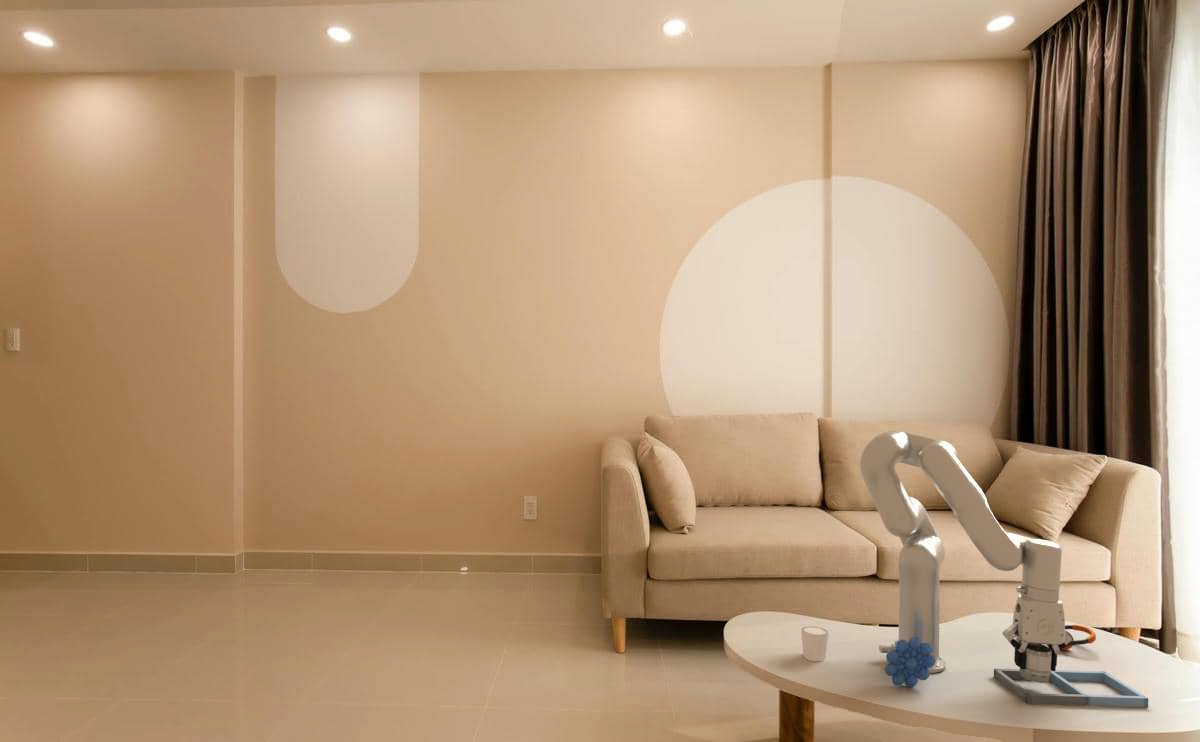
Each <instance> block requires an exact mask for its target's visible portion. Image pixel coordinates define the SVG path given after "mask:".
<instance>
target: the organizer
mask: <svg viewBox="0 0 1200 742" xmlns="http://www.w3.org/2000/svg"><path fill="white" fill-rule="evenodd" d="M1050 671H1051V670H1050ZM993 677H994V678H995V679H996V680H997V681H998V682H1000V683H1001V684H1002V685H1003V686H1004V687H1006V688H1008V690H1009V691H1011V692H1012V693H1014V694H1015V696H1017V697H1018V698H1019V699H1020V700H1022V701H1023V702H1025V704H1027V705H1052V706H1054V705H1056V706H1057V705H1058V706H1063V705H1064V706H1086V705H1088V706H1089V705H1093V706H1092V707H1094V706H1096V707H1097V706H1098V707H1122V708H1123V707H1124V708H1125V707H1129V708H1131V707H1132V708H1135V707H1136V708H1137V707H1138V708H1149V697H1147V696H1146V695H1144V694H1142V693H1140V692H1139V691H1137V690H1136V689H1134V688H1133V687H1131V686H1129V685H1127V684H1126V683H1124V682H1123V681H1121V680H1120V679H1118V678H1116V677H1114V676H1113V675H1111V674H1110V673H1108V672H1107V671H1104V670H1103V671H1097V670H1094V671H1093V670H1059V669H1058V670H1057V669H1056V670H1055V671H1051V674H1050V678H1049V680H1048V681H1051V682H1052V683H1054V685H1056V686H1058V687H1059V688H1060V689H1061V690H1063V691H1064V692H1066V693H1042V692H1040V693H1038V692H1037V693H1036V692H1029V691H1027V690H1026V689H1025V688H1024V687H1022V686H1021V685H1019V684H1018V683H1017V682H1016V681H1014V680H1026V679H1025V678H1024V677H1022V676H1021V672H1020V668H1019V669H1018V668H993ZM1069 681H1073V682H1074V681H1077V682H1103V683H1106V684H1107V685H1108V684H1109V686H1110V687H1112V688H1113V689H1114V690H1116V691H1118V692H1120V693H1121V694H1122V695H1108V694H1106V695H1105V694H1087V693H1085V692H1084V691H1082V690H1081V689H1080V688H1078V687H1077V686H1075V685H1074V684H1072V683H1071V682H1069Z"/></svg>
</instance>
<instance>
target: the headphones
mask: <svg viewBox="0 0 1200 742" xmlns="http://www.w3.org/2000/svg"><path fill="white" fill-rule="evenodd" d="M1067 630H1073V631H1078V632H1082V633H1083V632H1084V633H1086V634H1088V635H1090V636H1088V637H1086V639H1081V640H1080V639H1078V640H1074V637H1073V635H1072V634H1071V633H1070V632H1069V631H1067ZM1065 631H1066V632H1067V633H1068V635H1069V636H1070V637H1071V638H1072V640H1071V641H1070V642H1069V643H1068V644H1067V645H1066V646H1065V647H1064V648H1063V649H1062V650H1061V651H1066V650H1070V649H1071V648H1073V646H1076V645H1077V646H1080V645H1086V644H1092V643H1094V642H1096V640H1097V635H1096V633H1095V631H1094V630H1093V629H1092V628H1090V627H1088V626H1085V625H1080V624H1071V625H1070V624H1067V625H1066V624H1065ZM1016 637H1017V636H1016V635H1014V634H1013V638H1016Z"/></svg>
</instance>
